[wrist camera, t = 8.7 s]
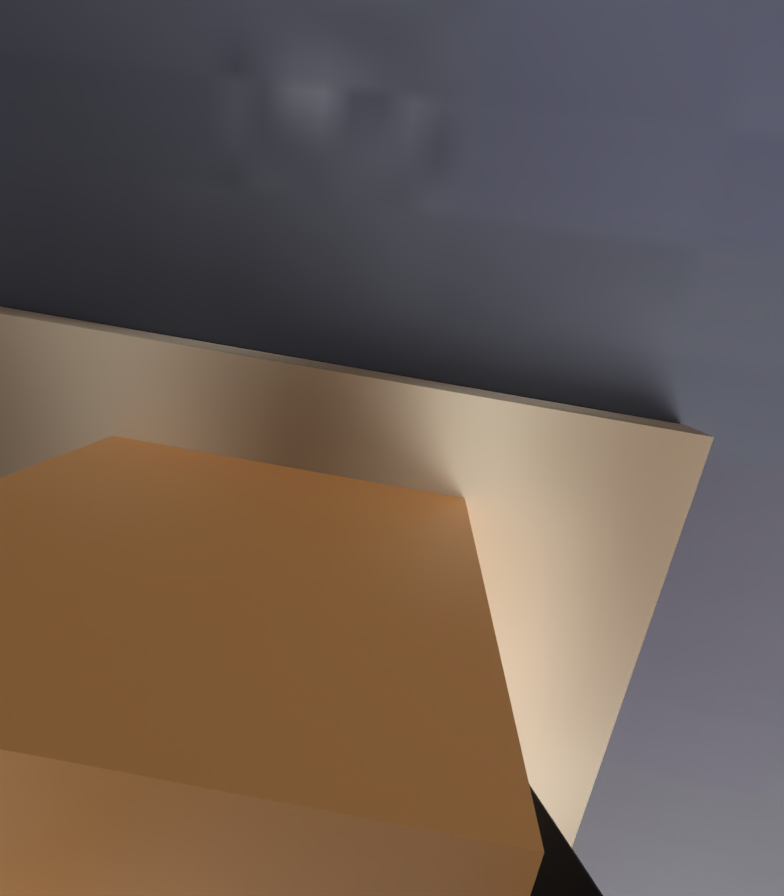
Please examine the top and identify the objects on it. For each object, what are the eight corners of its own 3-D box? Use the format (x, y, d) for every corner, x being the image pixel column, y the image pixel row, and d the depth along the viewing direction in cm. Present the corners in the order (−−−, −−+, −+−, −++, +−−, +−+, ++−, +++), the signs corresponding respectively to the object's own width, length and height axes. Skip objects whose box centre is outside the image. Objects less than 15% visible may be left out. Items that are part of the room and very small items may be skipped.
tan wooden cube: (107, 723, 11) (-281, 1219, 5) (111, 435, 9) (-477, 657, 3) (403, 779, 10) (379, 1356, 5) (464, 497, 9) (544, 852, 3)
